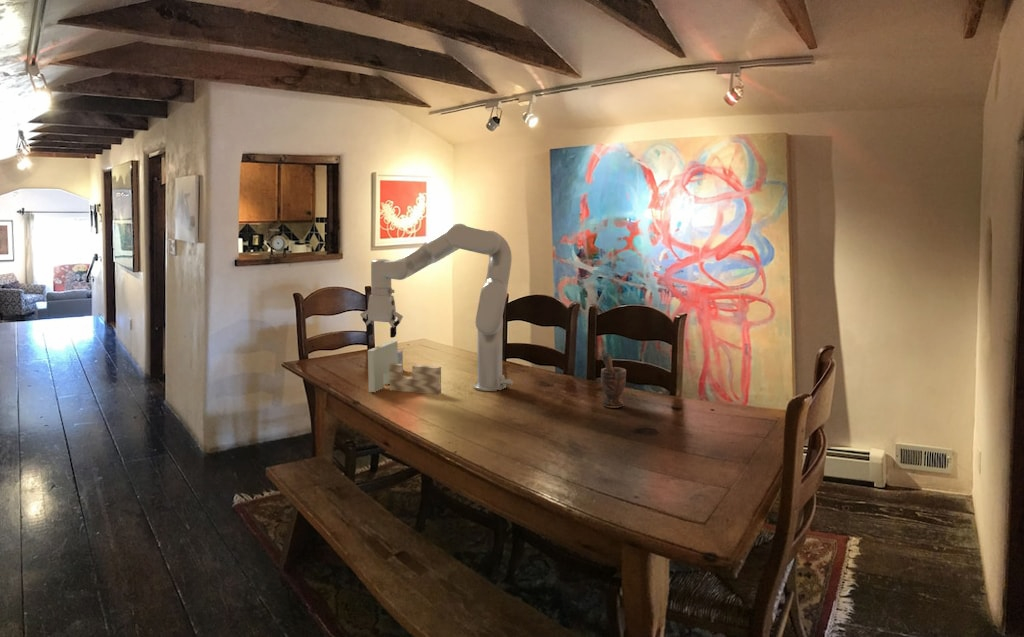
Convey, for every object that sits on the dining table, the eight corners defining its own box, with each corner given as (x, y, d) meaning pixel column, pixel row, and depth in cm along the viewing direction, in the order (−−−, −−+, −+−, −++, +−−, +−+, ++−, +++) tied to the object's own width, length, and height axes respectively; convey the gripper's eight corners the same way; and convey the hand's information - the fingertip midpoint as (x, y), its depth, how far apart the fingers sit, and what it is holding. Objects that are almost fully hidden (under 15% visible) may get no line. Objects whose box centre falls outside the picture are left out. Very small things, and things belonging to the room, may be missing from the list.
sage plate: (392, 379, 268) (391, 340, 266) (398, 380, 268) (397, 341, 265) (368, 392, 249) (367, 350, 247) (374, 392, 249) (373, 350, 246)
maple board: (441, 392, 249) (440, 366, 248) (438, 394, 247) (438, 368, 245) (392, 388, 255) (391, 363, 253) (389, 390, 252) (389, 364, 251)
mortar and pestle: (624, 413, 225) (626, 355, 222) (598, 411, 227) (600, 354, 224) (625, 403, 236) (627, 348, 233) (601, 402, 238) (602, 347, 235)
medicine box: (403, 370, 285) (402, 350, 284) (400, 372, 281) (400, 352, 280) (385, 369, 286) (384, 349, 285) (382, 371, 282) (381, 351, 280)
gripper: (406, 292, 254) (406, 336, 257) (365, 289, 259) (366, 332, 261) (397, 294, 247) (397, 339, 250) (356, 291, 252) (356, 336, 254)
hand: (381, 336), depth 256 cm, fingers open, 9 cm apart
